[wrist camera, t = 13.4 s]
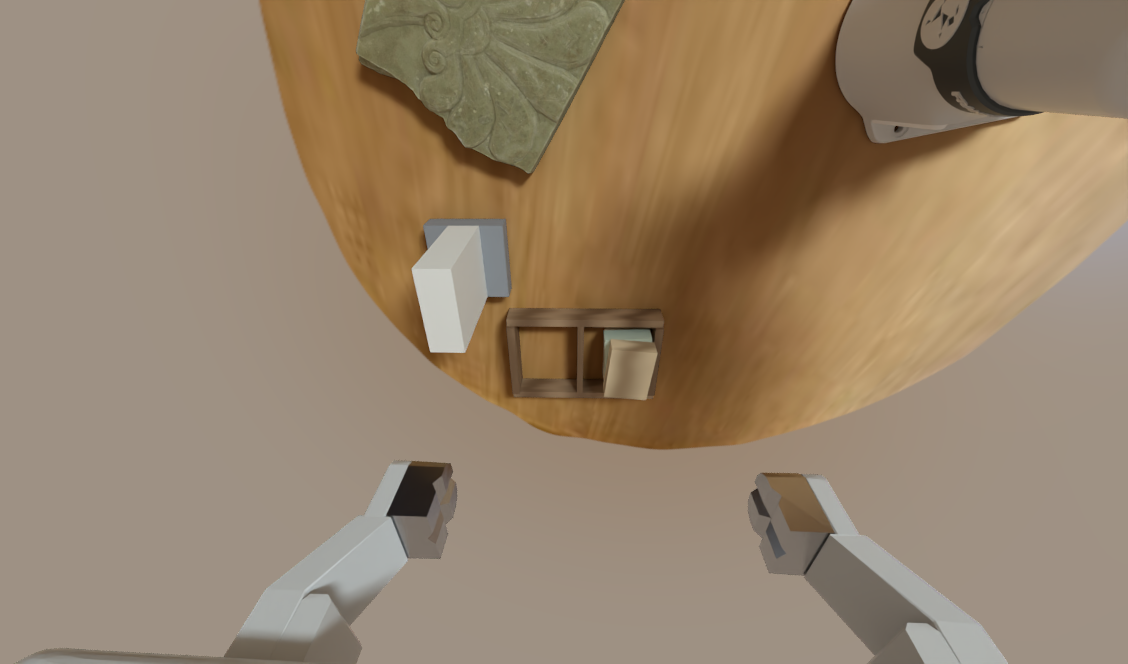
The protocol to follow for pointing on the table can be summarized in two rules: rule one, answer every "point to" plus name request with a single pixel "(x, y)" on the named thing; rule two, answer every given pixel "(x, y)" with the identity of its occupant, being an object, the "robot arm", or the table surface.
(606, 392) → the offcut top
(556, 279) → the table surface
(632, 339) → the block
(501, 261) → the slate plinth
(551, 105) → the decorative tile
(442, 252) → the tall white box
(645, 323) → the walnut rack
